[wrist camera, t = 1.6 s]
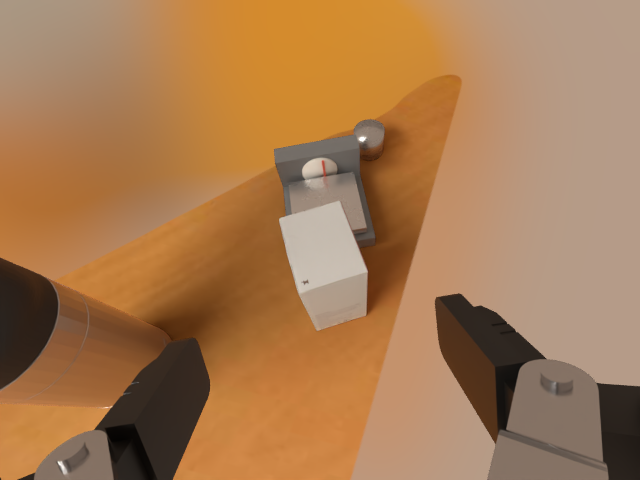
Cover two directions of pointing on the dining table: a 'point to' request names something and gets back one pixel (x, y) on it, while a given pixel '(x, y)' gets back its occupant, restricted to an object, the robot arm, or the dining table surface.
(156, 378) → the robot arm
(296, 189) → the platter
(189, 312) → the dining table surface
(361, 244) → the scale base
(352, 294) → the small box
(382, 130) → the cylinder
